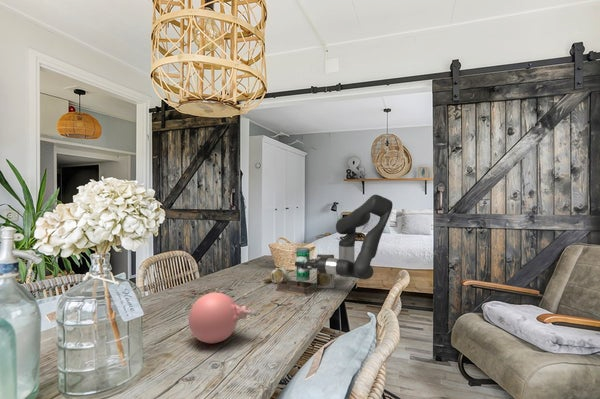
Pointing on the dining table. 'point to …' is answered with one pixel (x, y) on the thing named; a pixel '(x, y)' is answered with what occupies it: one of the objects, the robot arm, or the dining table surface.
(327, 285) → the coffee box
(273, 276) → the ceramic sculpture
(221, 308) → the balloon
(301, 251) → the can
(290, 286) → the brown open tray
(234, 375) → the dining table surface
